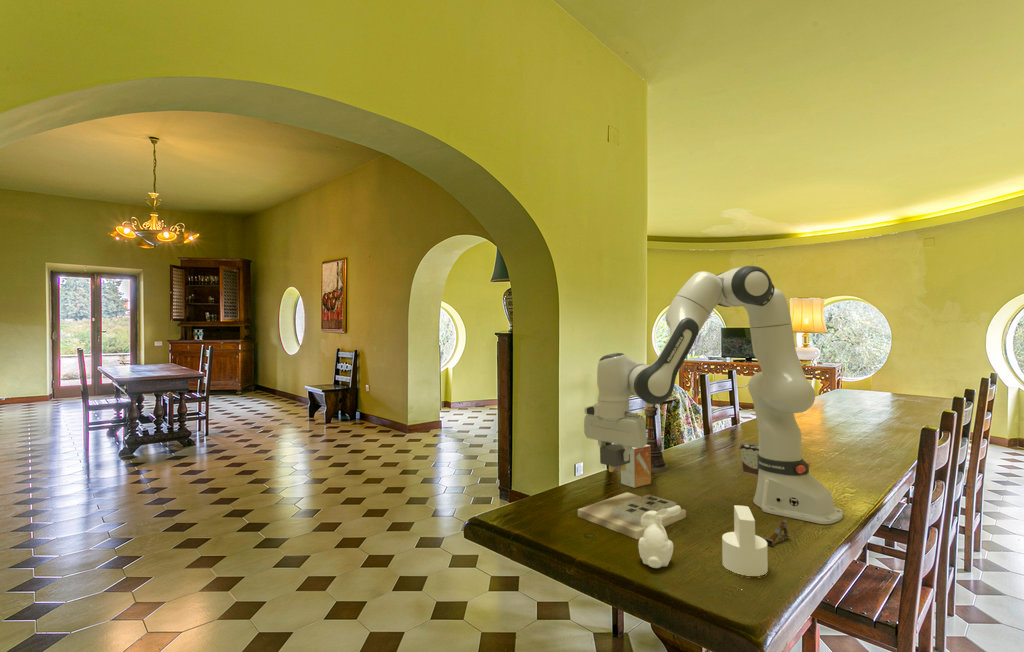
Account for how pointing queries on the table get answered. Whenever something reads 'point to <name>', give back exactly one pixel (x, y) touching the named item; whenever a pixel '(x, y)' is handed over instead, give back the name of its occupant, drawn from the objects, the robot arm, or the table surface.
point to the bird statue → (656, 454)
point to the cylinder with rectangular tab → (744, 546)
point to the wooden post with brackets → (778, 532)
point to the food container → (749, 457)
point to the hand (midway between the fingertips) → (615, 458)
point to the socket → (640, 508)
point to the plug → (613, 457)
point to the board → (604, 517)
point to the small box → (638, 468)
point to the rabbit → (656, 538)
